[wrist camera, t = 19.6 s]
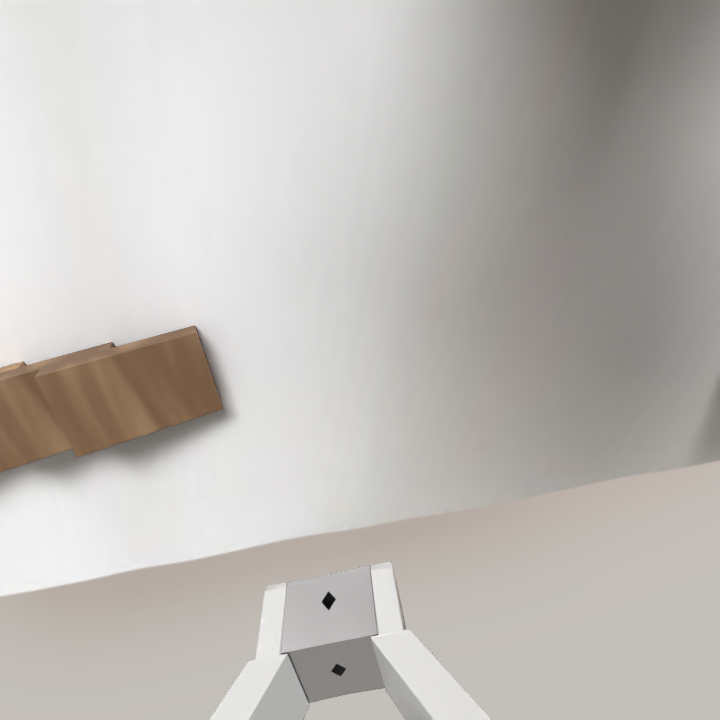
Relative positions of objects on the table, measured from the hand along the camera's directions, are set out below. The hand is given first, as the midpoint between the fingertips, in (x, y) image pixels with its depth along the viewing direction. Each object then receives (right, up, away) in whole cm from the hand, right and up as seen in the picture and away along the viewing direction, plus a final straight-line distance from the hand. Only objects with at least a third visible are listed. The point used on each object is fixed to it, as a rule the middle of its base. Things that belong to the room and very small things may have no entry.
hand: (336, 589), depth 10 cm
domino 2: (-8, +5, +15) cm, 18 cm away
